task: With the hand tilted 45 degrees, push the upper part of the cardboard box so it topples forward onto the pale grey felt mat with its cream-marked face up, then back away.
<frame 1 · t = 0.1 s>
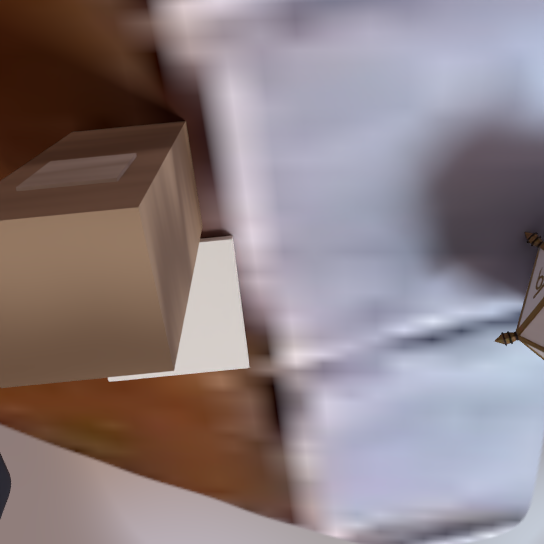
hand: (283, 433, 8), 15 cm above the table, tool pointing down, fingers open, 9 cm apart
felt mat: (167, 310, 24), on the table
cardboard box: (140, 181, 21), on the table
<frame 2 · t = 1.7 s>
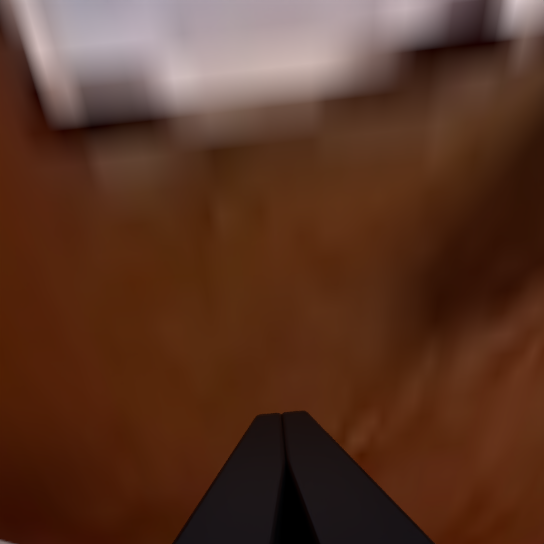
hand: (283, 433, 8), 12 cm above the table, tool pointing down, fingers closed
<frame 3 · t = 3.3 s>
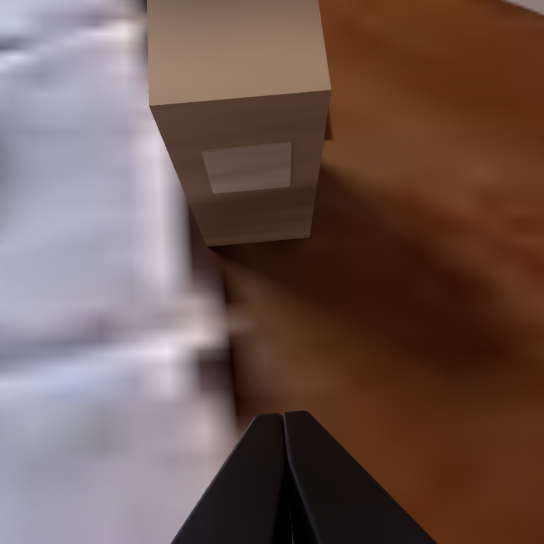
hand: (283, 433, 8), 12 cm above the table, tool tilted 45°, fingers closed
cardboard box: (254, 195, 23), on the table
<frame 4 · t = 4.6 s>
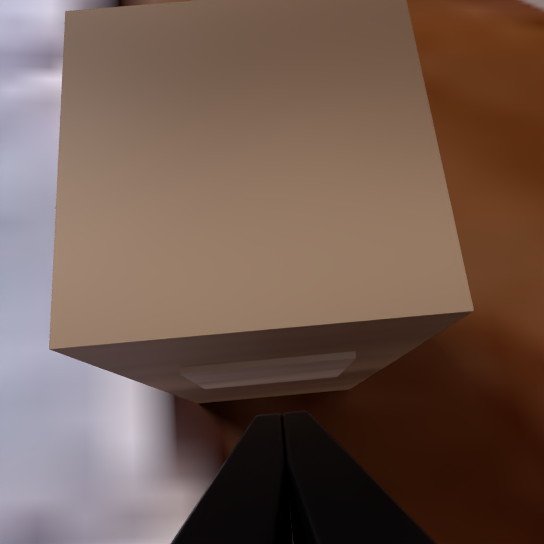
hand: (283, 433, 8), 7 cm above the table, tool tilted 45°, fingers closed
cardboard box: (267, 321, 16), on the table
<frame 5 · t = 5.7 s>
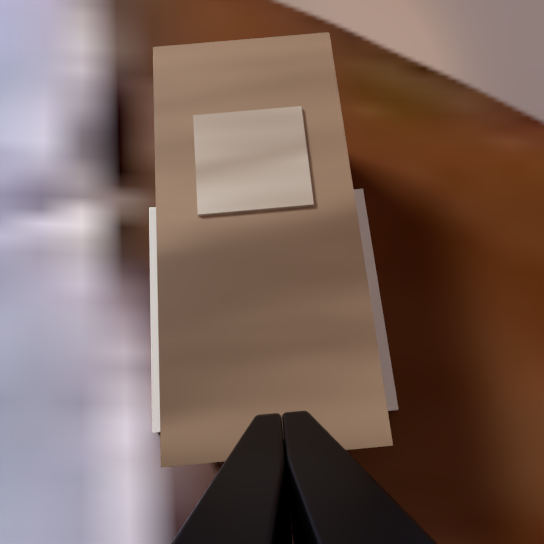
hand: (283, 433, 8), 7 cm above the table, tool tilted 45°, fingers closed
felt mat: (265, 304, 16), on the table
cardboard box: (277, 452, 12), point 3 cm above the table, tilted 90°, touching felt mat
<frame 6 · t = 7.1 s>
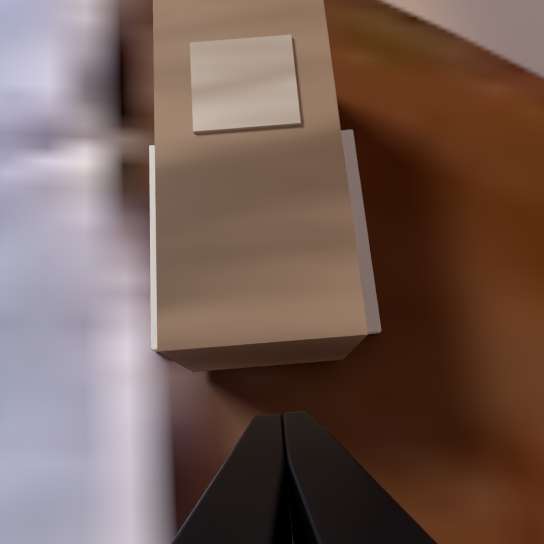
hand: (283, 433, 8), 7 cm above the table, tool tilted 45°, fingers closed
felt mat: (258, 236, 17), on the table
cardboard box: (266, 356, 13), point 3 cm above the table, tilted 90°, touching felt mat
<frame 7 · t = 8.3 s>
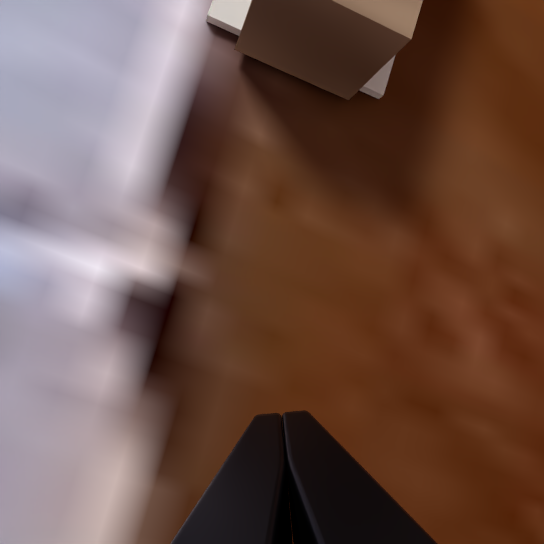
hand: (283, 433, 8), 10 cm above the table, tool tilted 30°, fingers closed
cardboard box: (313, 44, 16), point 3 cm above the table, tilted 90°, touching felt mat
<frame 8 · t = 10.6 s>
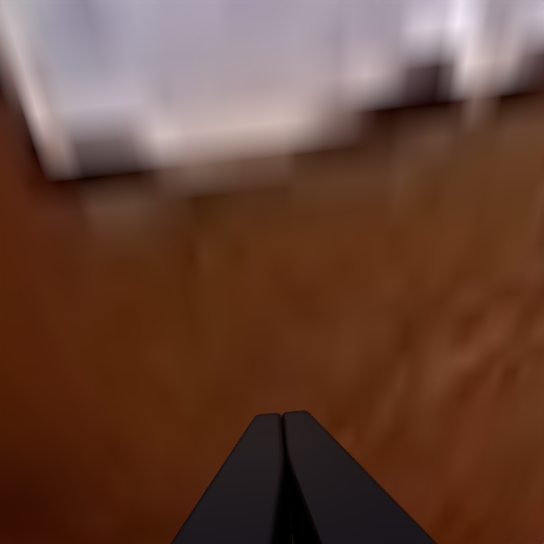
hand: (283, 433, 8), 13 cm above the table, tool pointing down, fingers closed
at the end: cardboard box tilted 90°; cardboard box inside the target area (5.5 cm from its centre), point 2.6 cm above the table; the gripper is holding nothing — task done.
